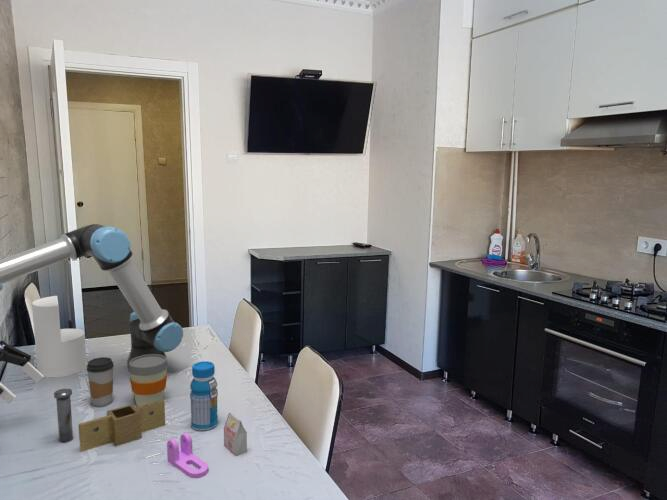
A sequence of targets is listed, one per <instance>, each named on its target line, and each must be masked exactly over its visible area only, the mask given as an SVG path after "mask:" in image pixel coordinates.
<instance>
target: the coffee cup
mask: <svg viewBox="0 0 667 500" xmlns="http://www.w3.org/2000/svg"><path fill="white" fill-rule="evenodd" d="M114 367H115V366H114V362H113V360H112V358H110V357H105V356H104V357H103V356H101V357H96V358H92V359H91V360H89V361H88V362H87V366H86V372H87V377H88V378H87V379H88V386H89V394H90V398H91V399H90V400H91V404H92V405H93V406H94V407H97V408H101V407H106V406H109V405H110V404H111V403H112V402H113V391H114V390H113V389H114Z"/></svg>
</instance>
